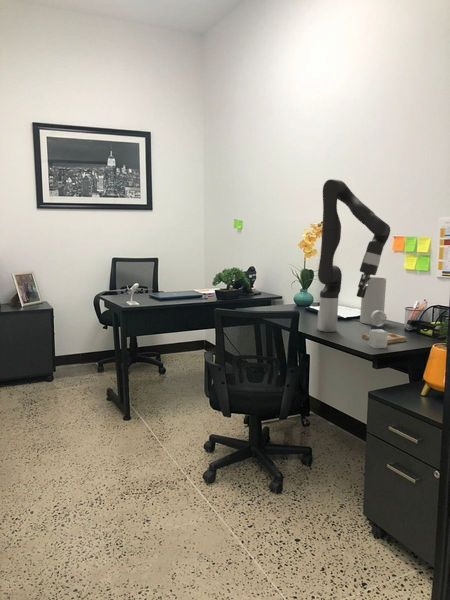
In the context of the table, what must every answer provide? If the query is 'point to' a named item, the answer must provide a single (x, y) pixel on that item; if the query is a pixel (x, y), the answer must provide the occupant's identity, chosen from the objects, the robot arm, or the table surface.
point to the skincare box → (378, 338)
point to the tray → (389, 338)
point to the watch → (383, 317)
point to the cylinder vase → (373, 301)
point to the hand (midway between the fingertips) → (360, 297)
